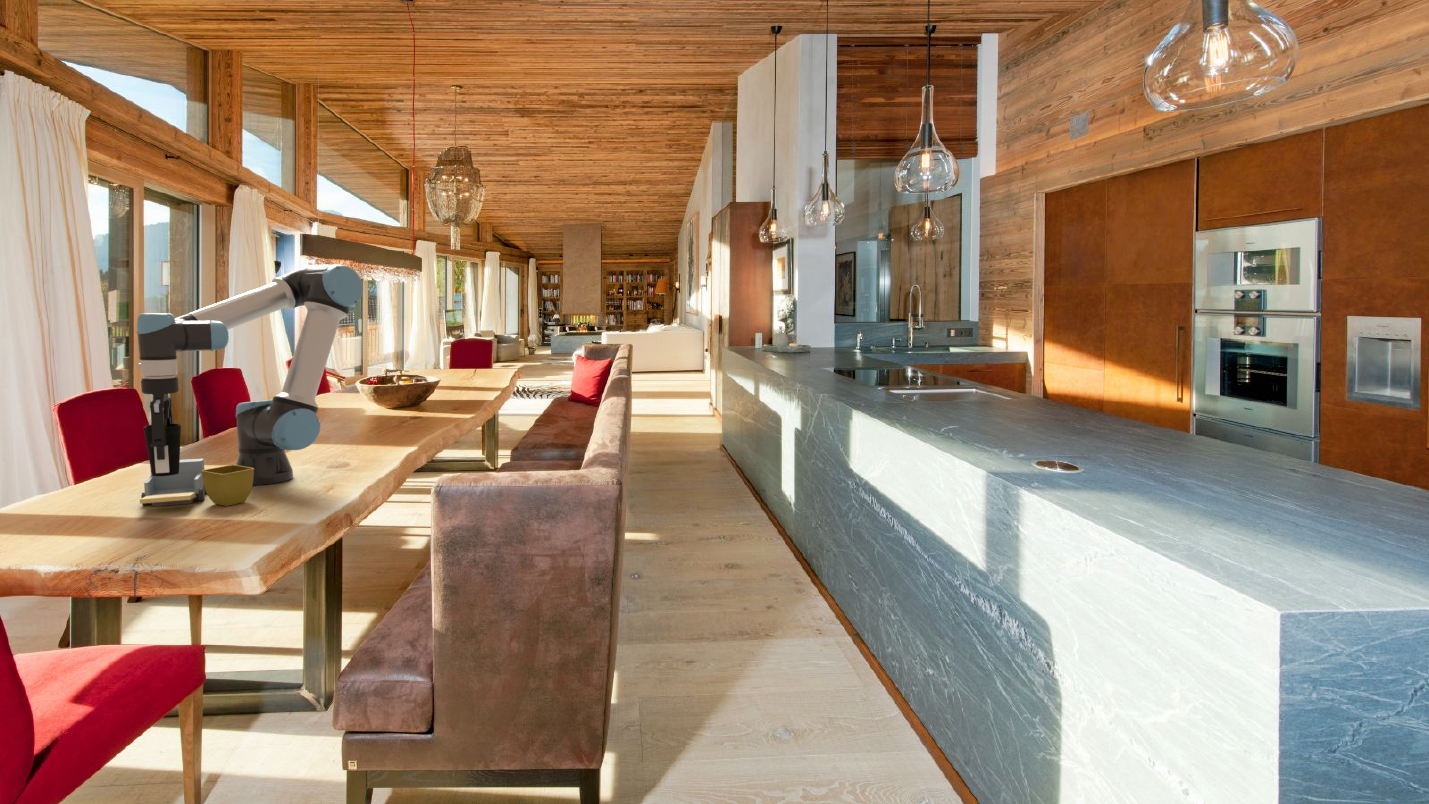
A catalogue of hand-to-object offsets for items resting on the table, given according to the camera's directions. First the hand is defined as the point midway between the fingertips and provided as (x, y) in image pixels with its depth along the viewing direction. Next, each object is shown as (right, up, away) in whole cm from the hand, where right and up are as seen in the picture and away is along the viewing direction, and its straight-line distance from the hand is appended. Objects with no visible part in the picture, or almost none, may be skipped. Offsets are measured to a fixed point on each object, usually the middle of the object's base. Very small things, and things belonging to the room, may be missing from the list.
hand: (165, 469), depth 204 cm
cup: (0, -1, 0) cm, 1 cm away
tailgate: (-2, -7, +5) cm, 9 cm away
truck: (-5, -9, +11) cm, 15 cm away
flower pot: (+11, -10, +8) cm, 17 cm away
